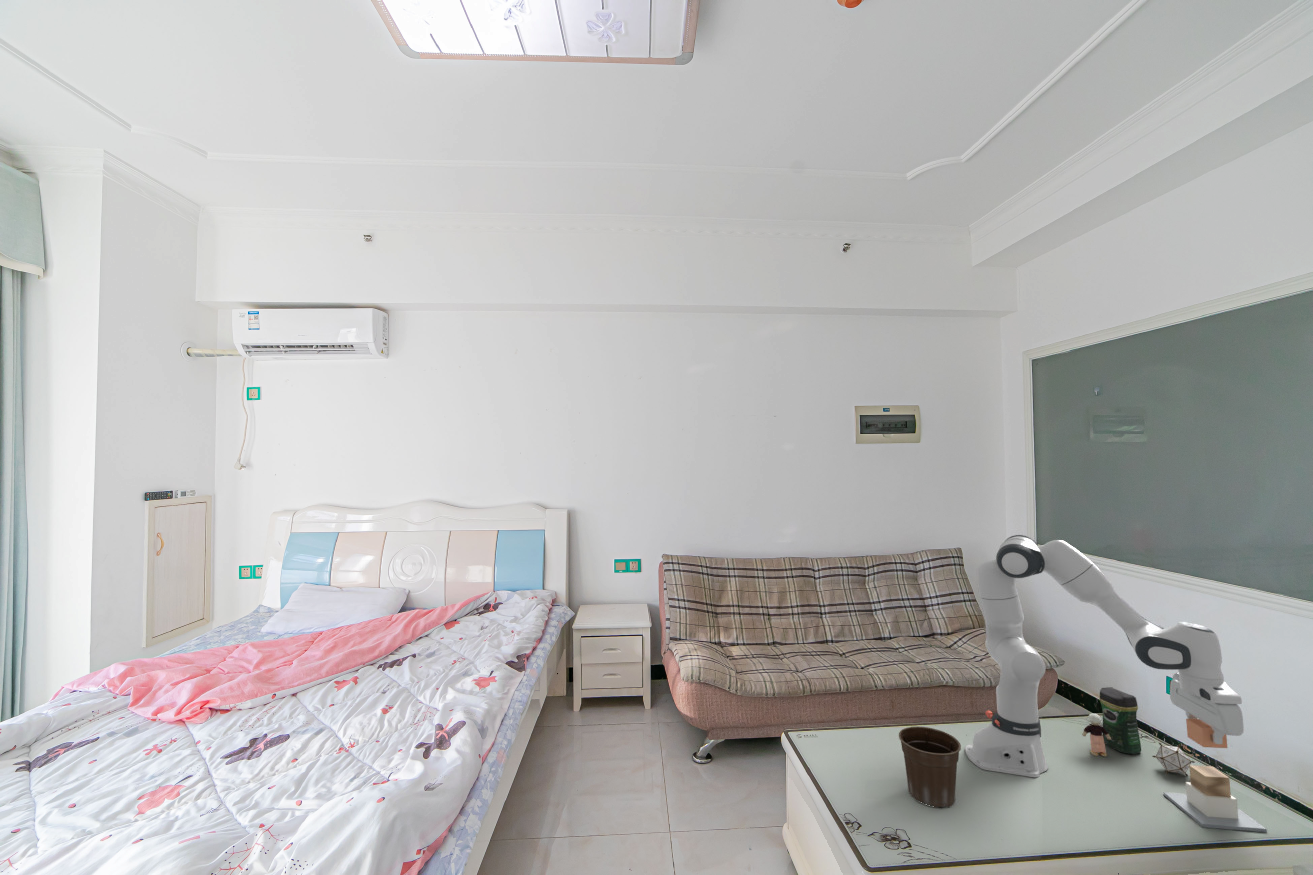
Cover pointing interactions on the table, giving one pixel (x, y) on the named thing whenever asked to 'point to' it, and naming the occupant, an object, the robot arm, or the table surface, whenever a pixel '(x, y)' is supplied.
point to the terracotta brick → (1203, 734)
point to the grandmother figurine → (1096, 735)
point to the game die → (1173, 759)
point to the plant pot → (930, 764)
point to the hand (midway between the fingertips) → (1206, 736)
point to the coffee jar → (1120, 720)
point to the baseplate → (1213, 820)
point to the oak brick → (1210, 781)
